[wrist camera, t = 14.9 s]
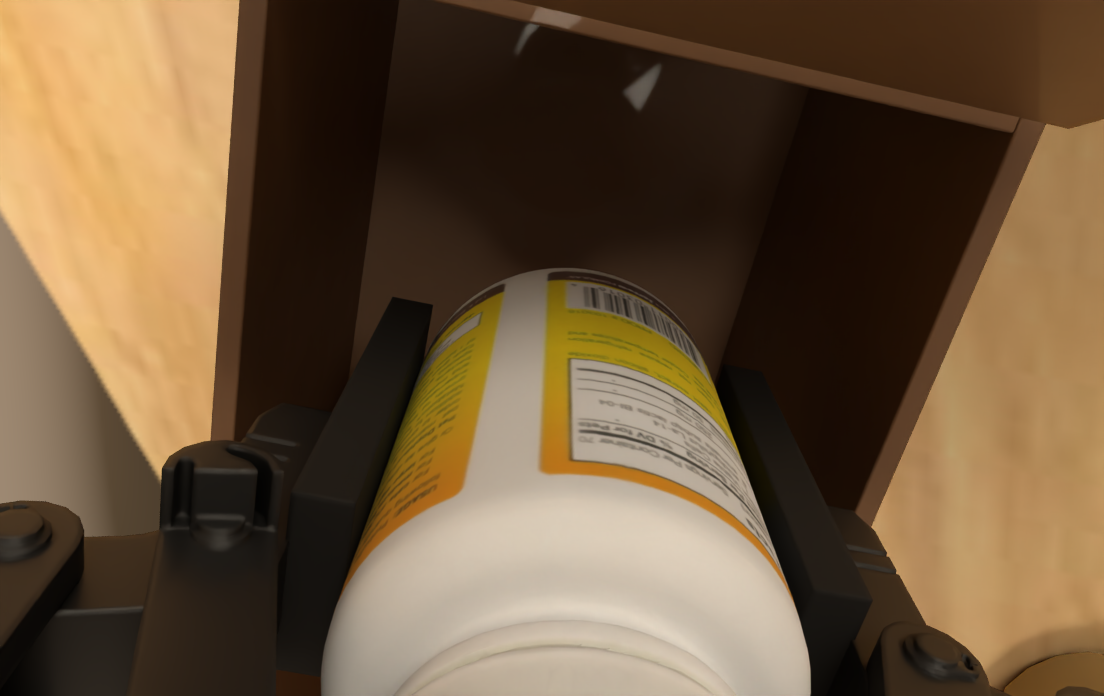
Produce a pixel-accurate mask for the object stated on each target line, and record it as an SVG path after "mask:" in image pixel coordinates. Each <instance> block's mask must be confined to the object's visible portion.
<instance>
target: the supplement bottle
mask: <svg viewBox="0 0 1104 696" xmlns="http://www.w3.org/2000/svg"><path fill="white" fill-rule="evenodd" d="M810 695H811V673H810V662H809V655H808V650H807V646H806V642H805V638H804V635H803V631H802V627H801V623H800V619H799V616H798V613H797V610H796V607H795V604H794V600H793V597H792V595H791V593H790V590H789V588H788V585H787V582H786V579H785V577H784V575H783V572H782V569H781V566H780V564H779V561H778V558H777V555H776V552H775V550H774V547H773V544H772V542H771V539H770V536H769V533H768V531H767V528H766V525H765V523H764V520H763V517H762V514H761V512H760V509H759V506H758V503H757V501H756V498H755V495H754V492H753V490H752V487H751V484H750V482H749V479H748V476H747V473H746V470H745V468H744V465H743V463H742V460H741V457H740V454H739V451H738V449H737V446H736V443H735V441H734V438H733V435H732V433H731V430H730V427H729V424H728V422H727V419H726V416H725V413H724V411H723V408H722V405H721V403H720V400H719V397H718V394H717V392H716V389H715V386H714V384H713V381H712V379H711V376H710V373H709V370H708V367H707V364H706V362H705V360H704V358H703V355H702V353H701V351H700V349H699V347H698V345H697V344H696V342H695V340H694V338H693V337H692V335H691V334H690V332H689V331H688V329H687V328H686V327H685V325H684V324H683V323H682V321H681V320H680V319H679V318H678V317H677V316H676V315H675V313H674V312H673V311H672V310H670V309H669V308H668V307H667V306H666V305H665V304H664V303H663V302H662V301H660V300H659V299H658V298H656V297H655V296H654V295H652V294H651V293H649V292H648V291H646V290H644V289H643V288H641V287H639V286H637V285H635V284H633V283H631V282H629V281H627V280H624V279H621V278H619V277H616V276H613V275H610V274H606V273H602V272H599V271H593V270H587V269H578V268H550V269H542V270H535V271H531V272H526V273H522V274H518V275H516V276H513V277H510V278H507V279H505V280H502V281H500V282H498V283H495V284H494V285H492V286H490V287H488V288H486V289H485V290H483V291H481V292H480V293H478V294H477V295H475V296H474V297H472V298H471V299H470V300H468V301H467V302H466V303H465V304H463V305H462V306H461V307H460V308H459V309H458V310H457V311H456V312H455V313H454V314H453V315H452V316H451V317H450V319H449V320H448V321H447V322H446V323H445V324H444V326H443V327H442V328H441V329H440V331H439V332H438V334H437V335H436V337H435V339H434V340H433V342H432V343H431V345H430V347H429V349H428V352H427V354H426V356H425V359H424V361H423V364H422V366H421V369H420V372H419V374H418V377H417V380H416V383H415V385H414V388H413V391H412V395H411V398H410V400H409V403H408V406H407V409H406V412H405V415H404V418H403V421H402V423H401V426H400V429H399V431H398V434H397V437H396V440H395V443H394V445H393V448H392V451H391V454H390V457H389V460H388V463H387V466H386V469H385V471H384V474H383V477H382V480H381V483H380V486H379V489H378V491H377V494H376V497H375V500H374V503H373V506H372V508H371V511H370V514H369V517H368V520H367V523H366V525H365V528H364V531H363V534H362V536H361V539H360V542H359V545H358V547H357V550H356V553H355V556H354V558H353V561H352V564H351V566H350V569H349V572H348V575H347V578H346V581H345V583H344V586H343V589H342V592H341V594H340V597H339V600H338V603H337V605H336V608H335V611H334V614H333V618H332V621H331V624H330V628H329V631H328V635H327V639H326V642H325V646H324V652H323V659H322V667H321V696H810Z"/></svg>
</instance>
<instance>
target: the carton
mask: <svg viewBox="0 0 1104 696" xmlns="http://www.w3.org/2000/svg"><path fill="white" fill-rule="evenodd" d="M1045 125H1046V123H1041V122H1037V121H1033V120H1028V119H1024V118H1020V117H1015V116H1011V115H1007V114H1002V113H998V112H994V111H989V110H985V109H981V108H976V107H972V106H968V105H963V104H959V103H955V102H950V101H946V100H942V99H937V98H933V97H929V96H924V95H920V94H916V93H911V92H907V91H903V90H898V89H894V88H890V87H885V86H881V85H877V84H872V83H868V82H864V81H859V80H855V79H851V78H846V77H842V76H838V75H833V74H829V73H825V72H820V71H816V70H812V69H807V68H803V67H799V66H794V65H790V64H786V63H781V62H777V61H773V60H768V59H764V58H760V57H755V56H751V55H747V54H742V53H738V52H734V51H729V50H725V49H721V48H716V47H712V46H707V45H703V44H699V43H694V42H690V41H686V40H681V39H677V38H673V37H668V36H664V35H660V34H655V33H651V32H647V31H642V30H638V29H634V28H629V27H625V26H621V25H616V24H612V23H608V22H603V21H599V20H595V19H590V18H586V17H582V16H577V15H573V14H569V13H564V12H560V11H556V10H551V9H547V8H543V7H538V6H534V5H530V4H525V3H521V2H517V1H512V0H240V1H239V16H238V31H237V47H236V62H235V77H234V92H233V107H232V123H231V138H230V153H229V168H228V183H227V199H226V214H225V229H224V244H223V259H222V275H221V290H220V305H219V320H218V335H217V351H216V366H215V381H214V396H213V411H212V427H211V441H220V440H231V441H238V442H241V441H242V439H243V438H244V437H246V433H247V432H248V430H249V429H250V427H251V426H252V424H253V423H254V422H255V420H256V419H257V417H258V416H259V415H261V414H262V413H264V412H266V411H268V410H270V409H272V408H273V407H275V406H277V405H279V404H281V403H288V404H293V405H298V406H303V407H309V408H314V409H319V410H324V411H329V412H333V410H334V408H335V406H336V404H337V402H338V400H339V398H340V397H341V395H342V393H343V391H344V389H345V387H346V385H347V383H348V381H349V379H350V377H351V375H352V374H353V372H354V370H355V368H356V366H357V364H358V362H359V360H360V358H361V356H362V354H363V352H364V350H365V349H366V347H367V345H368V343H369V341H370V339H371V337H372V335H373V333H374V331H375V329H376V327H377V325H378V324H379V322H380V320H381V318H382V316H383V314H384V312H385V310H386V308H387V306H388V304H389V302H390V301H391V299H392V297H397V298H402V299H407V300H412V301H417V302H422V303H427V304H432V305H433V308H432V314H431V320H430V326H429V331H428V337H427V343H426V349H425V355H424V359H425V356H426V354H427V352H428V349H429V347H430V345H431V343H432V342H433V340H434V339H435V337H436V335H437V334H438V332H439V331H440V329H441V328H442V327H443V326H444V324H445V323H446V322H447V321H448V320H449V319H450V317H451V316H452V315H453V314H454V313H455V312H456V311H457V310H458V309H459V308H460V307H461V306H462V305H463V304H465V303H466V302H467V301H468V300H470V299H471V298H472V297H474V296H475V295H477V294H478V293H480V292H481V291H483V290H485V289H486V288H488V287H490V286H492V285H494V284H495V283H498V282H500V281H502V280H505V279H507V278H510V277H513V276H516V275H518V274H522V273H526V272H531V271H535V270H542V269H550V268H578V269H587V270H593V271H599V272H602V273H606V274H610V275H613V276H616V277H619V278H621V279H624V280H627V281H629V282H631V283H633V284H635V285H637V286H639V287H641V288H643V289H644V290H646V291H648V292H649V293H651V294H652V295H654V296H655V297H656V298H658V299H659V300H660V301H662V302H663V303H664V304H665V305H666V306H667V307H668V308H669V309H670V310H672V311H673V312H674V313H675V315H676V316H677V317H678V318H679V319H680V320H681V321H682V323H683V324H684V325H685V327H686V328H687V329H688V331H689V332H690V334H691V335H692V337H693V338H694V340H695V342H696V344H697V345H698V347H699V349H700V351H701V353H702V355H703V358H704V360H705V362H706V364H707V367H708V370H709V373H710V376H711V379H712V381H713V384H714V386H715V389H716V386H717V382H718V379H719V376H720V373H721V370H722V367H723V364H727V365H731V366H736V367H741V368H746V369H751V370H756V371H761V372H762V373H763V375H764V377H765V379H766V381H767V383H768V385H769V388H770V390H771V392H772V394H773V396H774V398H775V400H776V402H777V404H778V406H779V408H780V410H781V412H782V414H783V416H784V418H785V420H786V422H787V424H788V427H789V429H790V431H791V433H792V435H793V437H794V439H795V441H796V443H797V445H798V447H799V449H800V451H801V453H802V455H803V457H804V459H805V461H806V464H807V466H808V468H809V470H810V472H811V474H812V476H813V478H814V480H815V482H816V484H817V486H818V488H819V490H820V492H821V494H822V496H823V498H824V500H825V503H826V505H828V506H833V507H838V508H844V509H849V510H853V511H854V512H855V513H856V514H857V515H858V516H859V517H860V518H861V519H862V520H863V521H864V522H866V523H867V524H868V525H869V526H870V527H871V526H872V523H873V521H874V519H875V516H876V514H877V512H878V510H879V507H880V505H881V503H882V500H883V498H884V496H885V493H886V491H887V489H888V487H889V484H890V482H891V480H892V477H893V475H894V473H895V470H896V468H897V466H898V463H899V461H900V459H901V457H902V454H903V452H904V450H905V447H906V445H907V443H908V440H909V438H910V436H911V434H912V431H913V429H914V427H915V424H916V422H917V420H918V417H919V415H920V413H921V410H922V408H923V406H924V404H925V401H926V399H927V397H928V394H929V392H930V390H931V387H932V385H933V383H934V381H935V378H936V376H937V374H938V371H939V369H940V367H941V364H942V362H943V360H944V357H945V355H946V353H947V351H948V348H949V346H950V344H951V341H952V339H953V337H954V334H955V332H956V330H957V328H958V325H959V323H960V321H961V318H962V316H963V314H964V311H965V309H966V307H967V304H968V302H969V300H970V298H971V295H972V293H973V291H974V288H975V286H976V284H977V281H978V279H979V277H980V275H981V272H982V270H983V268H984V265H985V263H986V261H987V258H988V256H989V254H990V251H991V249H992V247H993V245H994V242H995V240H996V238H997V235H998V233H999V231H1000V228H1001V226H1002V224H1003V222H1004V219H1005V217H1006V215H1007V212H1008V210H1009V208H1010V205H1011V203H1012V201H1013V198H1014V196H1015V194H1016V192H1017V189H1018V187H1019V185H1020V182H1021V180H1022V178H1023V175H1024V173H1025V171H1026V169H1027V166H1028V164H1029V162H1030V159H1031V157H1032V155H1033V152H1034V150H1035V148H1036V145H1037V143H1038V141H1039V139H1040V136H1041V134H1042V132H1043V129H1044V127H1045ZM276 696H321V677H317V676H311V675H305V674H299V673H293V672H287V671H281V670H276Z"/></svg>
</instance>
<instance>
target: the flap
mask: <svg viewBox="0 0 1104 696" xmlns="http://www.w3.org/2000/svg"><path fill="white" fill-rule="evenodd" d="M512 1H517V2H521V3H525V4H530V5H534V6H538V7H543V8H547V9H551V10H556V11H560V12H564V13H569V14H573V15H577V16H582V17H586V18H590V19H595V20H599V21H603V22H608V23H612V24H616V25H621V26H625V27H629V28H634V29H638V30H642V31H647V32H651V33H655V34H660V35H664V36H668V37H673V38H677V39H681V40H686V41H690V42H694V43H699V44H703V45H707V46H712V47H716V48H721V49H725V50H729V51H734V52H738V53H742V54H747V55H751V56H755V57H760V58H764V59H768V60H773V61H777V62H781V63H786V64H790V65H794V66H799V67H803V68H807V69H812V70H816V71H820V72H825V73H829V74H833V75H838V76H842V77H846V78H851V79H855V80H859V81H864V82H868V83H872V84H877V85H881V86H885V87H890V88H894V89H898V90H903V91H907V92H911V93H916V94H920V95H924V96H929V97H933V98H937V99H942V100H946V101H950V102H955V103H959V104H963V105H968V106H972V107H976V108H981V109H985V110H989V111H994V112H998V113H1002V114H1007V115H1011V116H1015V117H1020V118H1024V119H1028V120H1033V121H1037V122H1041V123H1046V124H1050V125H1054V126H1059V127H1063V128H1067V129H1070V128H1074V127H1077V126H1081V125H1084V124H1088V123H1092V122H1095V121H1099V120H1102V119H1104V0H512Z"/></svg>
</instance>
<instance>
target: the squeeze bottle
mask: <svg viewBox="0 0 1104 696" xmlns="http://www.w3.org/2000/svg"><path fill="white" fill-rule="evenodd" d="M1067 686H1075V687H1086V688H1089V689H1092V690H1095V691H1098V692H1101V693H1104V655H1103V654H1097V653H1092V652H1081V653H1073V654H1065V655H1057V656H1055V657H1052V658H1050V659H1048V660H1045V661H1043V662H1041V663H1038V664H1036V665H1034V666H1031V667H1029V668H1027V669H1026V670H1025V671H1024V672H1023V673H1021V674H1020V675H1019V676H1018V677H1017V678H1015V679H1014V680H1013V681H1012V682H1011V683H1010V684H1008V685H1007V686H1006V688H1005V690H1004V693H1007V694H1009V695H1012V696H1054V695H1055V694H1056V692H1057V691H1058V690H1060V689H1063V688H1065V687H1067Z"/></svg>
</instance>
